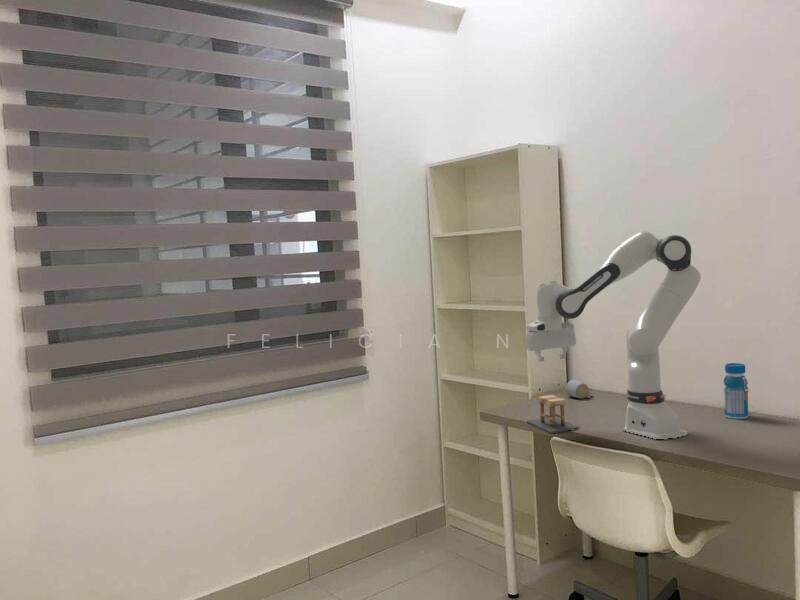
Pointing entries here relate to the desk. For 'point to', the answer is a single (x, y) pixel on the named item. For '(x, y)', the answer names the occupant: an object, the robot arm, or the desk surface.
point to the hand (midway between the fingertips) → (552, 360)
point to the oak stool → (552, 408)
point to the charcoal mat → (548, 425)
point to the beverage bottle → (735, 391)
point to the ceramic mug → (577, 389)
